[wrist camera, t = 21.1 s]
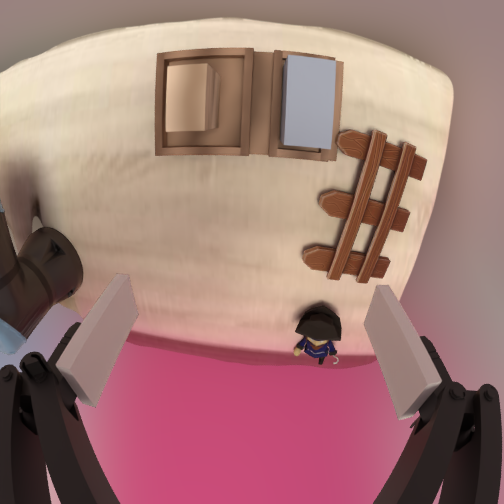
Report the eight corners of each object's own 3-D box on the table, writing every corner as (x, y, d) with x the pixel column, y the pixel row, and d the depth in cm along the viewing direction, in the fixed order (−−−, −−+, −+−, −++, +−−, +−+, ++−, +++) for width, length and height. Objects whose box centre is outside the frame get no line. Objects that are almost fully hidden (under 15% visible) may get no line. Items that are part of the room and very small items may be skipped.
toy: (291, 363, 52) (290, 326, 42) (299, 337, 56) (299, 294, 46) (335, 371, 49) (347, 336, 39) (341, 344, 53) (352, 303, 43)
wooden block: (188, 127, 32) (165, 131, 24) (189, 77, 29) (167, 66, 21) (218, 127, 32) (204, 130, 24) (220, 76, 29) (207, 63, 21)
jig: (160, 152, 35) (151, 155, 32) (162, 58, 29) (153, 54, 26) (333, 159, 35) (339, 163, 32) (341, 63, 28) (348, 59, 25)
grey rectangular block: (279, 139, 33) (283, 145, 27) (282, 66, 28) (288, 54, 22) (318, 143, 33) (330, 149, 27) (322, 70, 28) (336, 60, 22)
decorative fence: (425, 151, 33) (340, 118, 31) (431, 154, 31) (345, 119, 29) (377, 280, 44) (298, 270, 42) (382, 285, 42) (300, 276, 40)
